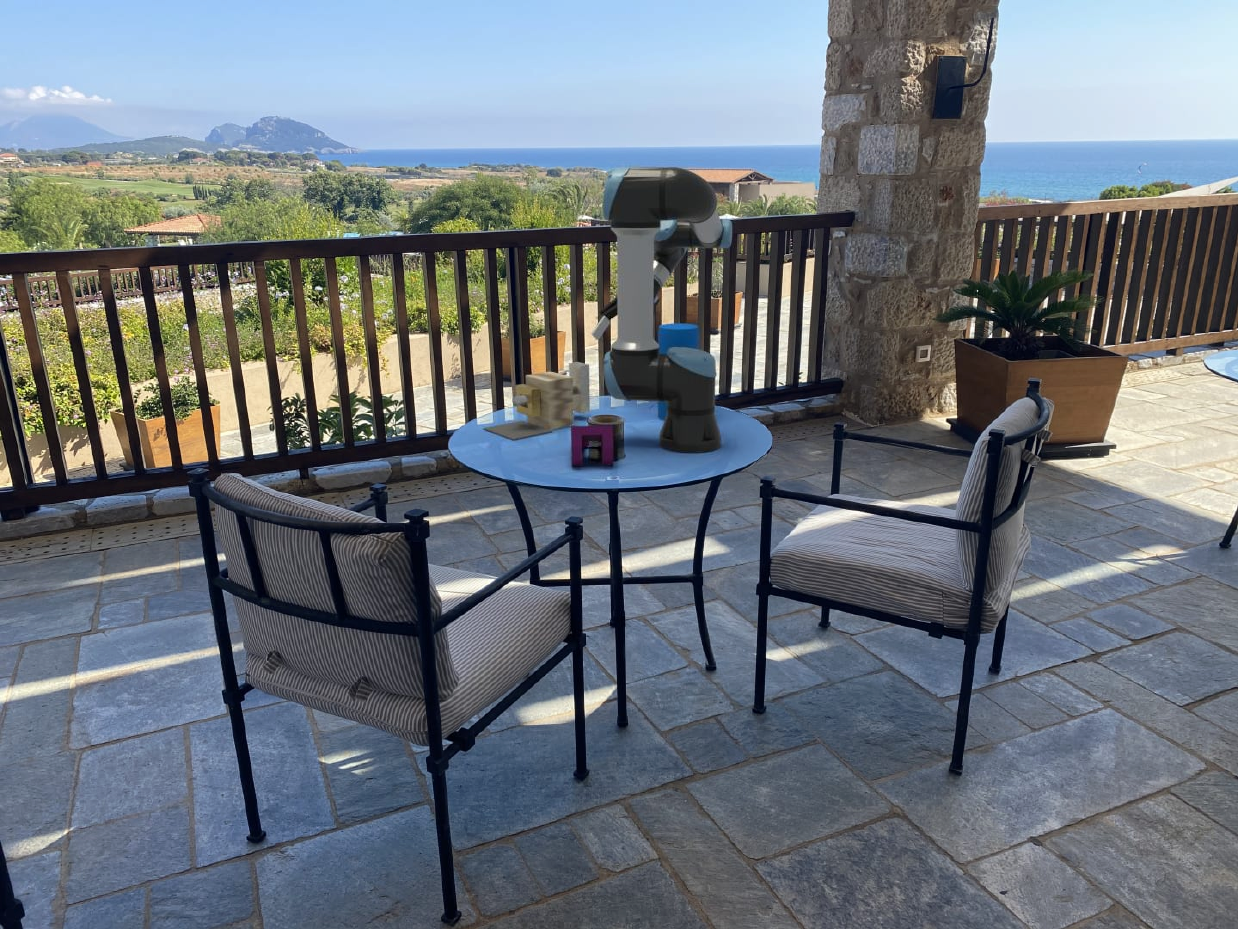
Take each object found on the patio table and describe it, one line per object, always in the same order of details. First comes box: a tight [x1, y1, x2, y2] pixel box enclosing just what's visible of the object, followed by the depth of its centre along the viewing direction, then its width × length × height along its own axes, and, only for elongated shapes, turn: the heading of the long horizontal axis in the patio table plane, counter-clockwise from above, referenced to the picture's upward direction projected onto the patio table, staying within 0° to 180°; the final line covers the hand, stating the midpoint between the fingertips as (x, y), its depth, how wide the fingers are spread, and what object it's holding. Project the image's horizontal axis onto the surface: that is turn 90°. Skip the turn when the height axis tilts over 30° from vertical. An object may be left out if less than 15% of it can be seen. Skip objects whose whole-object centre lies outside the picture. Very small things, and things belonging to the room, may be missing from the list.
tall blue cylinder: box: [657, 323, 700, 421], centre depth 238 cm, size 11×11×25 cm
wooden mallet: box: [511, 361, 591, 414], centre depth 233 cm, size 22×5×13 cm, turn 130°
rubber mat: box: [483, 419, 553, 442], centre depth 229 cm, size 12×14×1 cm
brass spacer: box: [515, 383, 540, 417], centre depth 228 cm, size 2×7×7 cm, turn 40°
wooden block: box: [525, 371, 575, 431], centre depth 233 cm, size 8×10×13 cm
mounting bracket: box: [570, 424, 614, 467], centre depth 205 cm, size 9×8×18 cm
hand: (609, 340), depth 242 cm, fingers open, 13 cm apart
